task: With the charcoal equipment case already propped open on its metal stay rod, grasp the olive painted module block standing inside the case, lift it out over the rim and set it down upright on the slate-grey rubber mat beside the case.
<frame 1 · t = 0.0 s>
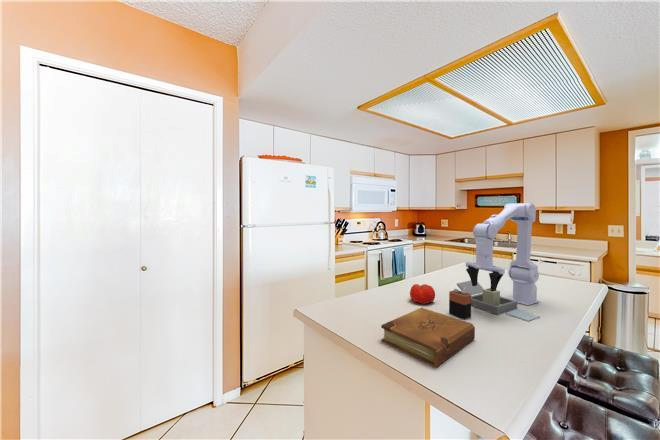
hand: (483, 288, 104), 10 cm above the counter, tool pointing down, fingers open, 7 cm apart
diary: (427, 342, 83), on the counter
module: (491, 306, 111), resting in case
mat: (522, 315, 102), on the counter
case: (491, 306, 111), on the counter
tomato: (422, 302, 118), on the counter
battery: (459, 316, 102), on the counter
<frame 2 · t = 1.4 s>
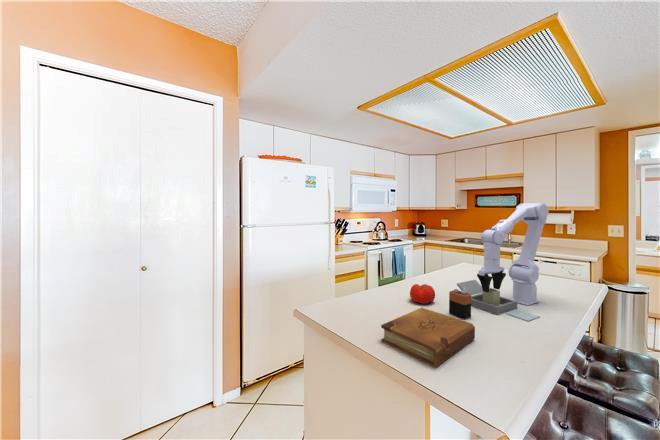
hand: (491, 290, 111), 7 cm above the counter, tool pointing down, fingers open, 7 cm apart
nothing on the counter moved.
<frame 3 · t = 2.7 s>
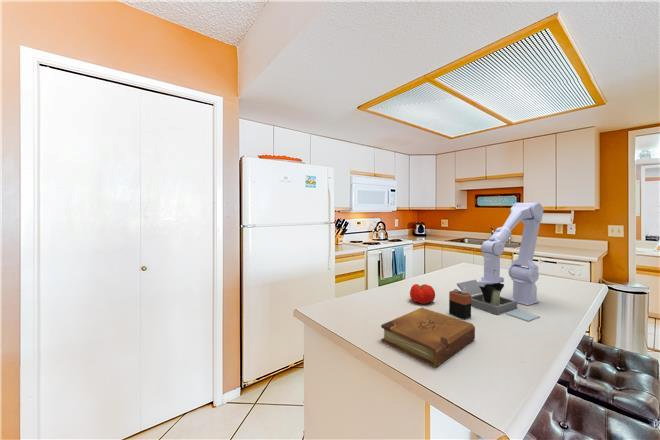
hand: (491, 300, 111), 2 cm above the counter, tool pointing down, fingers closed on module, 4 cm apart
module: (491, 306, 111), resting in case, touching gripper
everything else where it was.
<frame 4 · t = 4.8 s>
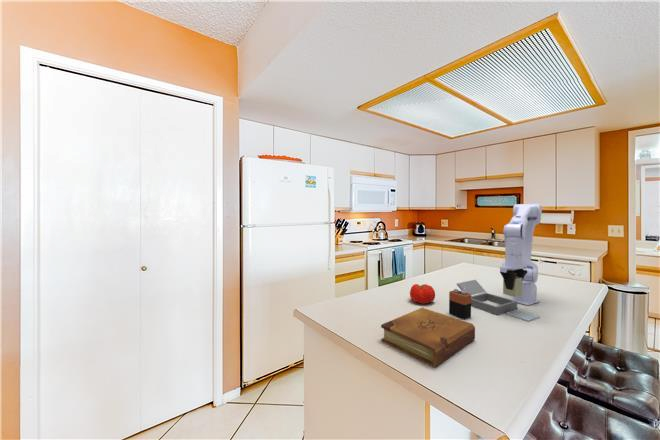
hand: (513, 288, 104), 10 cm above the counter, tool pointing down, fingers closed on module, 4 cm apart
module: (512, 294, 104), point 7 cm above the counter, touching gripper
everything else where it was.
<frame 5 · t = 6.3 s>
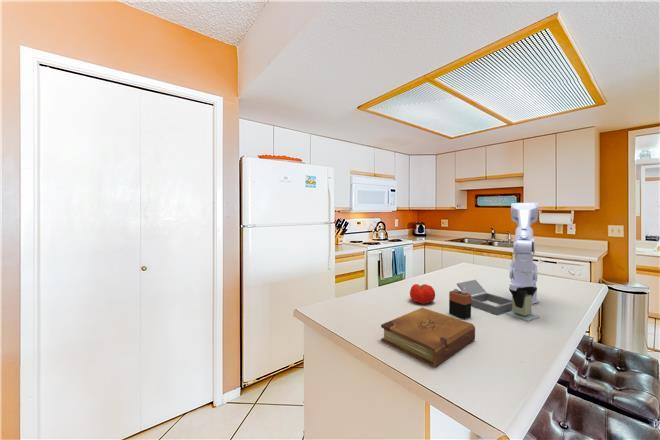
hand: (522, 305, 102), 4 cm above the counter, tool pointing down, fingers closed on module, 4 cm apart
module: (521, 312, 102), point 1 cm above the counter, touching gripper
everything else where it was.
when the fingers open (4 cm above the counter, at t = 7.1 s): module stays where it is, resting on mat.
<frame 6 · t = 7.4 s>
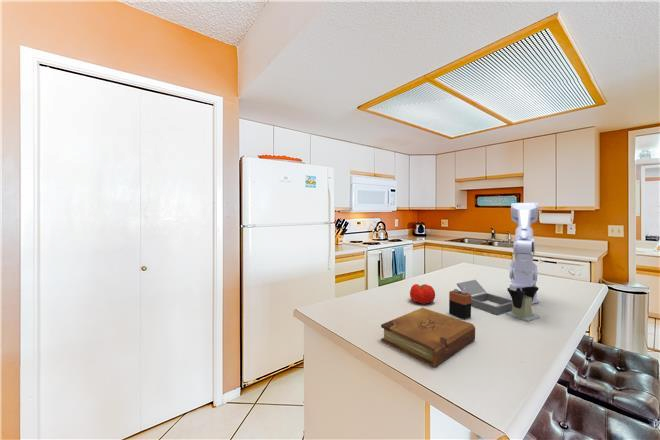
hand: (522, 306, 102), 4 cm above the counter, tool pointing down, fingers open, 7 cm apart
module: (521, 314, 102), resting on mat
everything else where it was.
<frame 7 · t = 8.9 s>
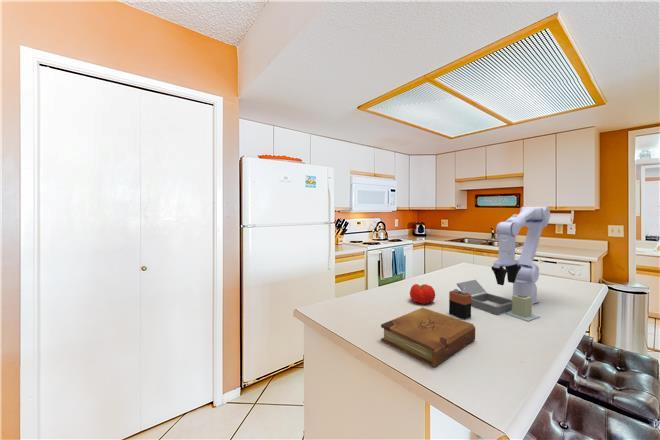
hand: (505, 283, 109), 10 cm above the counter, tool pointing down, fingers open, 7 cm apart
nothing on the counter moved.
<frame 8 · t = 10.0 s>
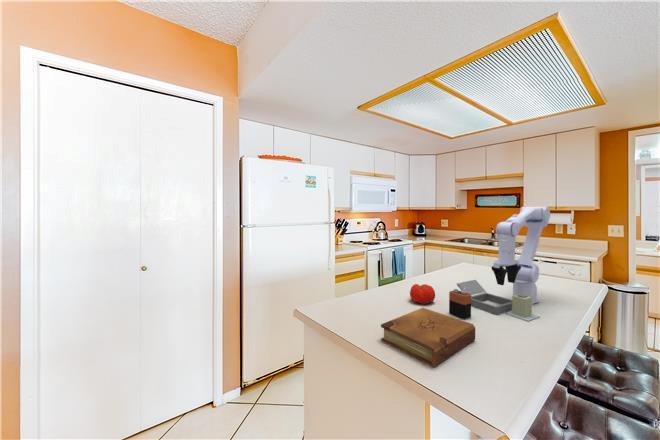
hand: (505, 283, 109), 10 cm above the counter, tool pointing down, fingers open, 7 cm apart
nothing on the counter moved.
at the end: module 0.3 cm from the mat (horizontally); module tilted 0°; the gripper is holding nothing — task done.
